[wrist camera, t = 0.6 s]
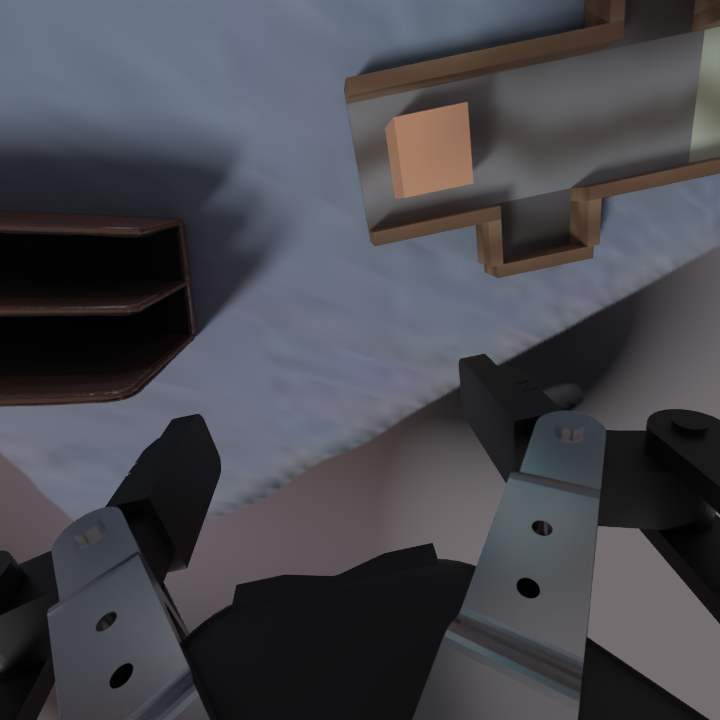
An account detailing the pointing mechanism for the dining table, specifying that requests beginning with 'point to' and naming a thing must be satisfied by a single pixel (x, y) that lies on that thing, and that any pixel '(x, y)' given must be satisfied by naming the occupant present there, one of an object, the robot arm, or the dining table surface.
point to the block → (430, 150)
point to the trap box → (552, 129)
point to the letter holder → (89, 305)
